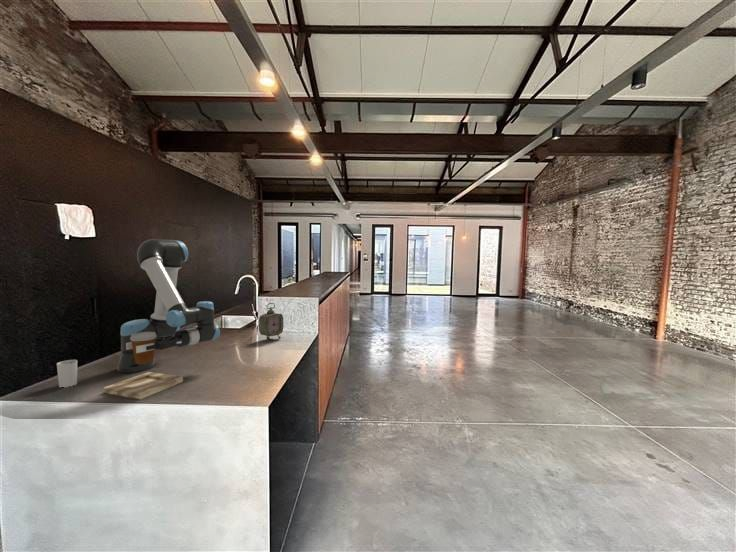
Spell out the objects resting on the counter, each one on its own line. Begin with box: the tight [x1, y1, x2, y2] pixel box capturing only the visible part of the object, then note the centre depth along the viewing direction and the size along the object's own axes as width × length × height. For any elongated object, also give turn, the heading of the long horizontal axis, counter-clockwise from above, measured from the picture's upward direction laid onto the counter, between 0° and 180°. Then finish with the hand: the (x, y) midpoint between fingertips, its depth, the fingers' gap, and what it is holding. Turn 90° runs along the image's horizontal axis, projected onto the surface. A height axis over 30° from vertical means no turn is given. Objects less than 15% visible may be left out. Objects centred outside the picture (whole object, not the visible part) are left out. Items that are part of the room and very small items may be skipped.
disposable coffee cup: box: [130, 332, 157, 364], centre depth 143 cm, size 10×10×12 cm
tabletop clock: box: [258, 302, 284, 343], centre depth 227 cm, size 14×9×25 cm, turn 147°
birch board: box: [103, 371, 184, 400], centre depth 144 cm, size 20×20×2 cm
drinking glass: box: [56, 359, 78, 388], centre depth 145 cm, size 7×7×10 cm
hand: (131, 348), depth 139 cm, fingers closed on disposable coffee cup, 8 cm apart
